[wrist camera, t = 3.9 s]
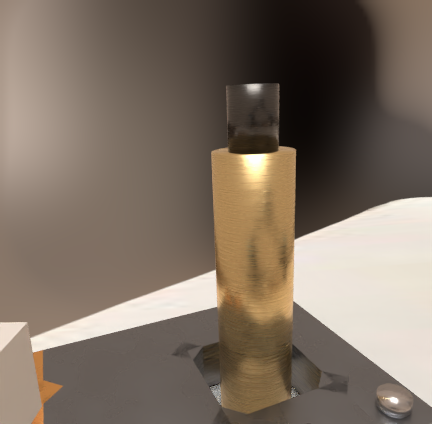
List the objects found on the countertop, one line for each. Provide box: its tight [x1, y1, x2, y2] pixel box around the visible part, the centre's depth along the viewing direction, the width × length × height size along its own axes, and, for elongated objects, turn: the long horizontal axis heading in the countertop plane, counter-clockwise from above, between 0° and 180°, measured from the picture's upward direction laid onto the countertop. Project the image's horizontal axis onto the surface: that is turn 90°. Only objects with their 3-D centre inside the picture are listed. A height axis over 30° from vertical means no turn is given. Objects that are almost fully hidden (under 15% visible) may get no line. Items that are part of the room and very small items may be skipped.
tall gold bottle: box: [211, 84, 296, 414], centre depth 21 cm, size 4×4×18 cm
